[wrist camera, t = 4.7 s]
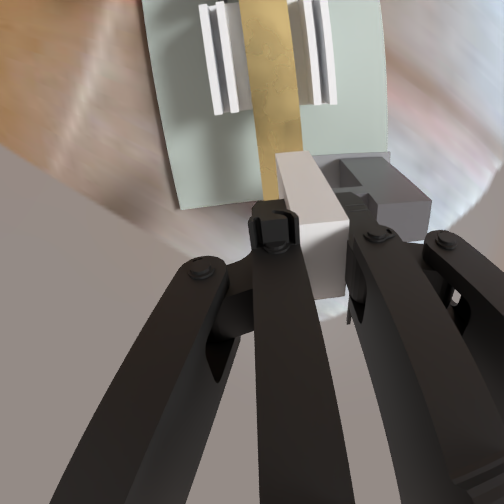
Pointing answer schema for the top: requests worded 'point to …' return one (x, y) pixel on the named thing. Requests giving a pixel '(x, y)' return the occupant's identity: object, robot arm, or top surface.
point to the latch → (387, 195)
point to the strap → (271, 85)
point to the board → (233, 135)
